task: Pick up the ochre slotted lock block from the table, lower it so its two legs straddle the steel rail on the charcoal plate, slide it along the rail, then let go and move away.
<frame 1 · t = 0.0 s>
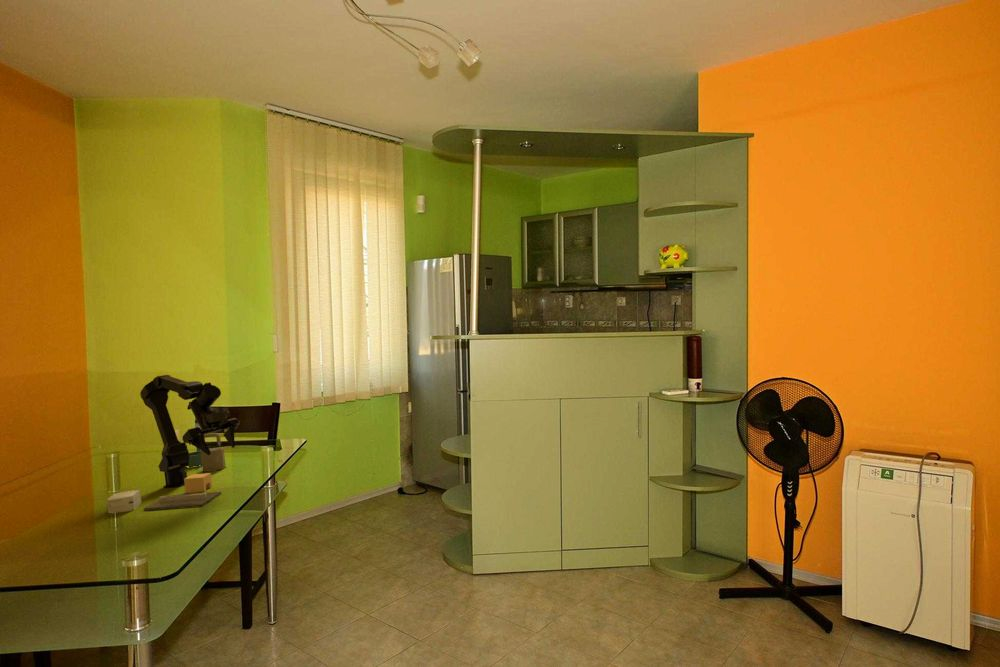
hand: (222, 450, 201), 15 cm above the table, tool tilted 35°, fingers open, 9 cm apart
bracket: (197, 465, 246), on the table
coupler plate: (183, 502, 195), on the table
small box: (125, 509, 194), on the table
lock block: (199, 489, 208), on the table
padlock: (214, 469, 235), on the table
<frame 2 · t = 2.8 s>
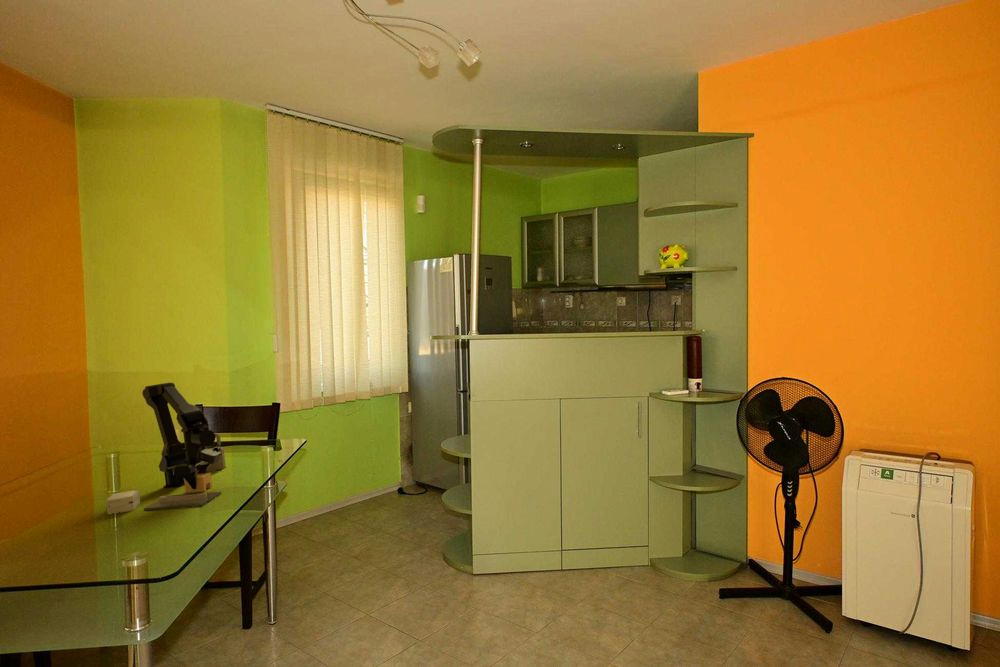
hand: (198, 486, 208), 1 cm above the table, tool pointing down, fingers closed on lock block, 5 cm apart
lock block: (199, 489, 208), on the table, touching gripper
everything else where it was.
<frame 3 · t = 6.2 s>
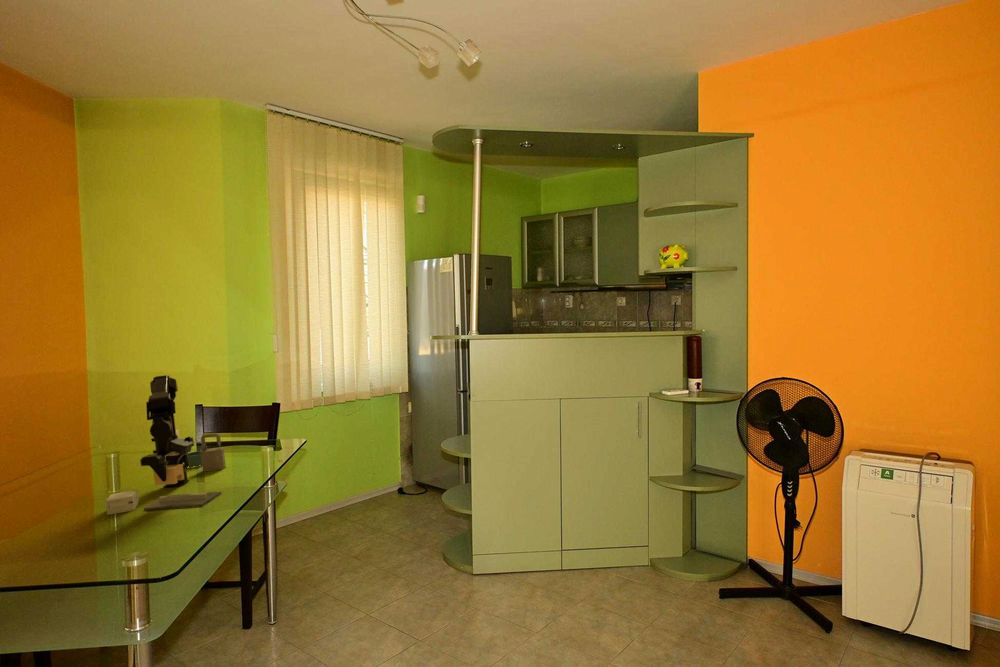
hand: (169, 478, 195), 8 cm above the table, tool pointing down, fingers closed on lock block, 5 cm apart
lock block: (169, 482, 195), point 7 cm above the table, touching gripper
everything else where it was.
when the fingers open (3 cm above the table, at t = 9.9 s): lock block drops 1 cm, resting on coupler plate.
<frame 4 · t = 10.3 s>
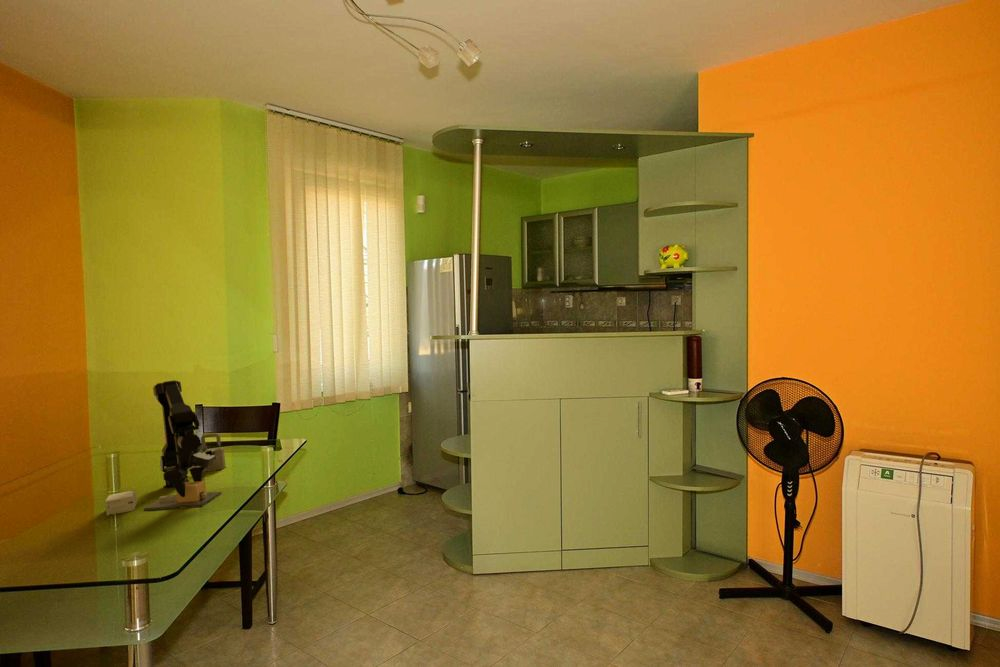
hand: (191, 492, 195), 3 cm above the table, tool pointing down, fingers open, 9 cm apart
lock block: (192, 499, 195), point 1 cm above the table, touching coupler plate
everything else where it was.
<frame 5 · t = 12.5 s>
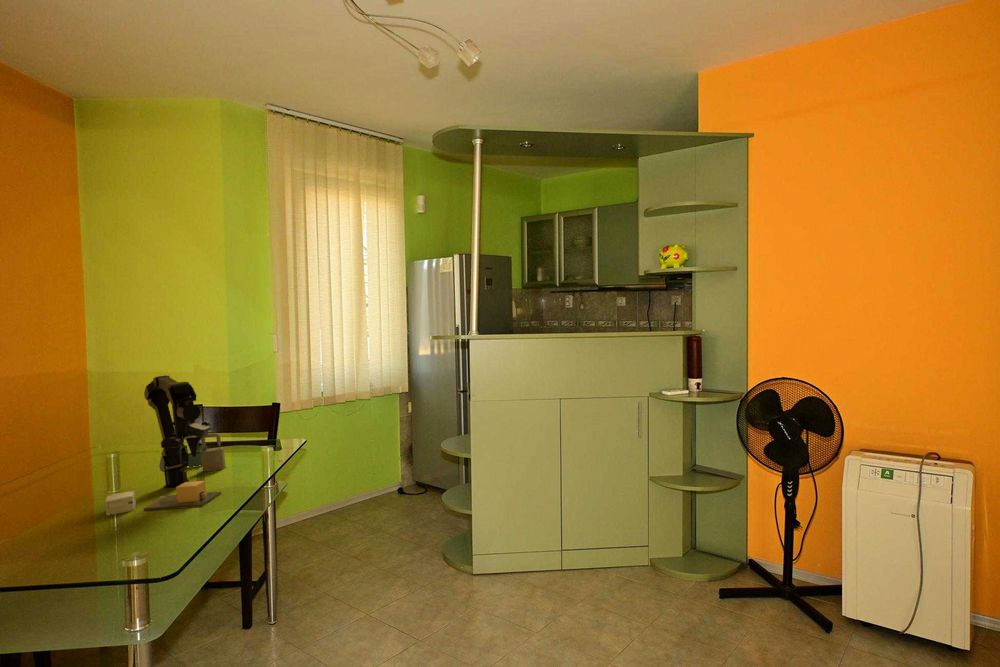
hand: (187, 460, 206), 11 cm above the table, tool pointing down, fingers open, 9 cm apart
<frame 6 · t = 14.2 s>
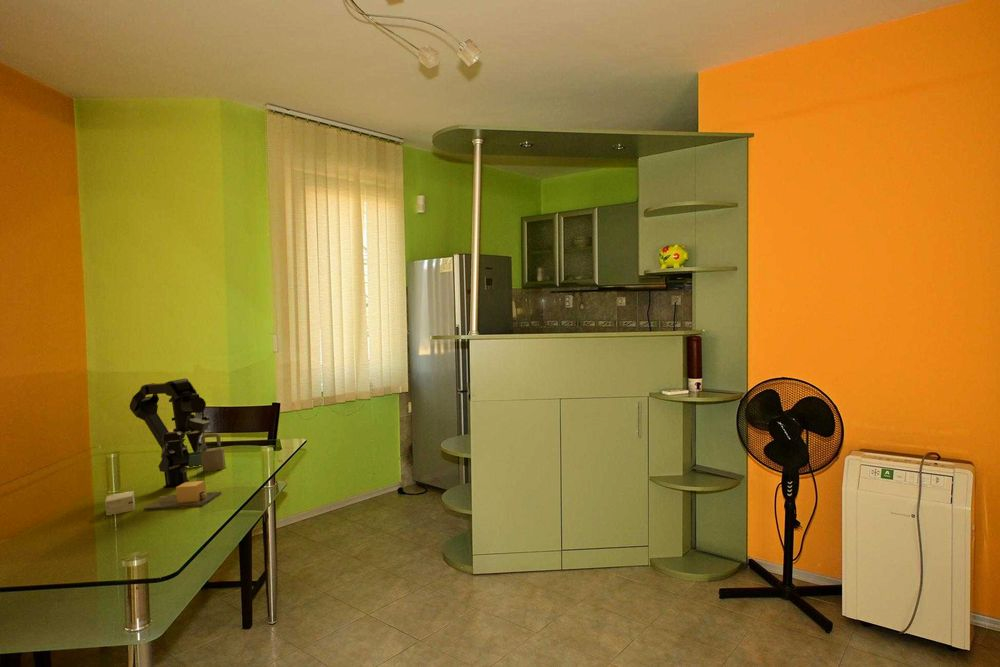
hand: (188, 454, 212), 12 cm above the table, tool pointing down, fingers open, 9 cm apart
at the end: lock block 1.0 cm from the target spot on the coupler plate, point 0.8 cm above the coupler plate's base; lock block tilted 0°; the gripper is holding nothing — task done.
